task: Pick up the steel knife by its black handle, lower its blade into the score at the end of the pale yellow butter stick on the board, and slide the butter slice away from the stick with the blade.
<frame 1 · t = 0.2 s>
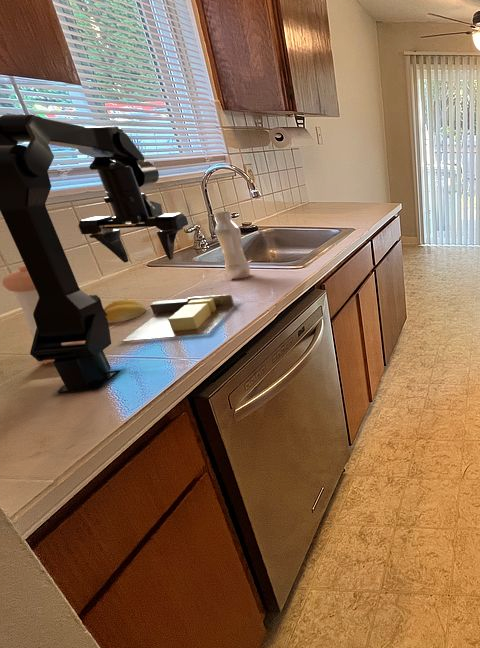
hand: (149, 260, 92), 14 cm above the counter, tool pointing down, fingers open, 9 cm apart
board: (185, 322, 95), on the counter
butter stick: (192, 322, 93), resting on board
plastic bottle: (240, 278, 125), on the counter
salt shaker: (69, 356, 81), on the counter
bread roll: (125, 318, 98), on the counter
knife: (173, 310, 100), point 1 cm above the counter, touching board
butter slice: (204, 311, 99), point 1 cm above the counter, touching board
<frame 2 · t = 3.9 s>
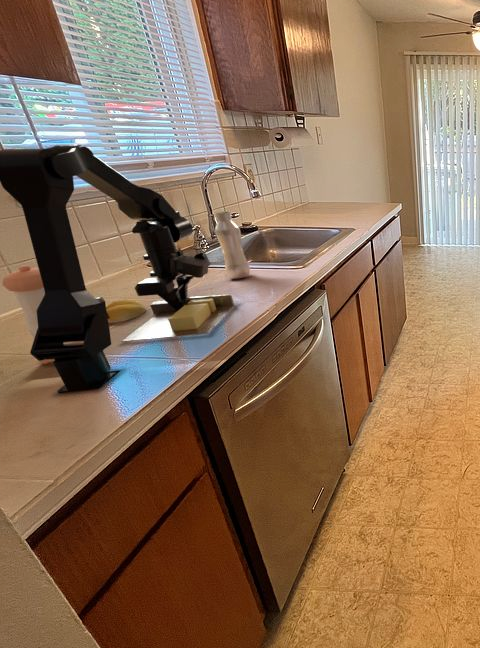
hand: (182, 308, 100), 1 cm above the counter, tool pointing down, fingers closed on knife, 2 cm apart
knife: (173, 310, 100), point 1 cm above the counter, touching board, gripper
everything else where it was.
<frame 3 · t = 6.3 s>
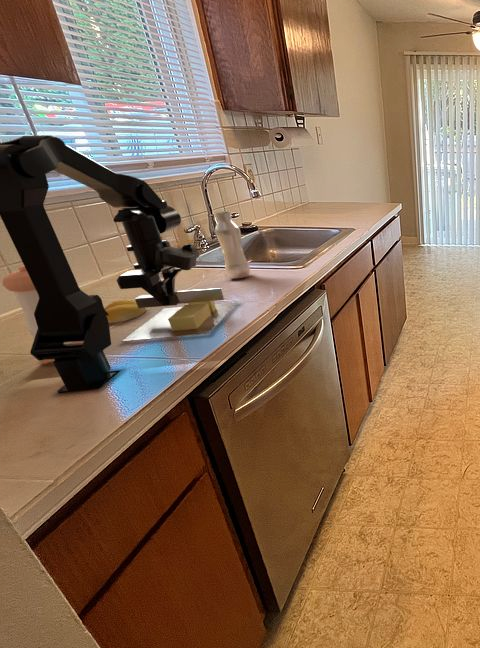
hand: (168, 303, 95), 4 cm above the counter, tool pointing down, fingers closed on knife, 2 cm apart
knife: (159, 304, 95), point 4 cm above the counter, touching gripper
everything else where it was.
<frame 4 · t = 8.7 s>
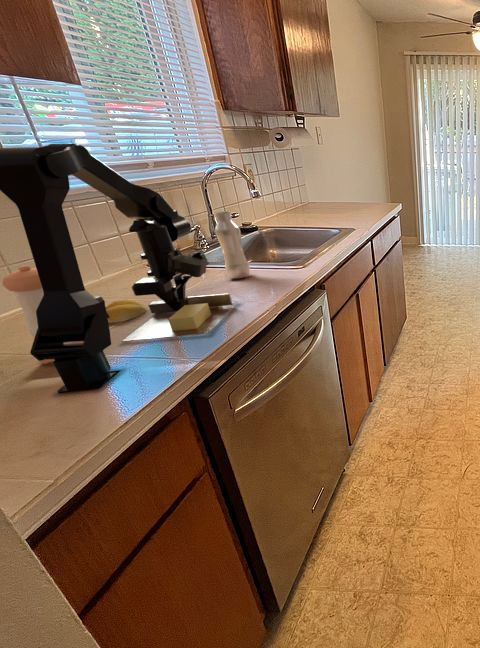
hand: (180, 308, 99), 1 cm above the counter, tool pointing down, fingers closed on knife, 2 cm apart
knife: (171, 310, 99), point 1 cm above the counter, touching gripper
butter slice: (209, 307, 101), point 1 cm above the counter, touching board
everything else where it was.
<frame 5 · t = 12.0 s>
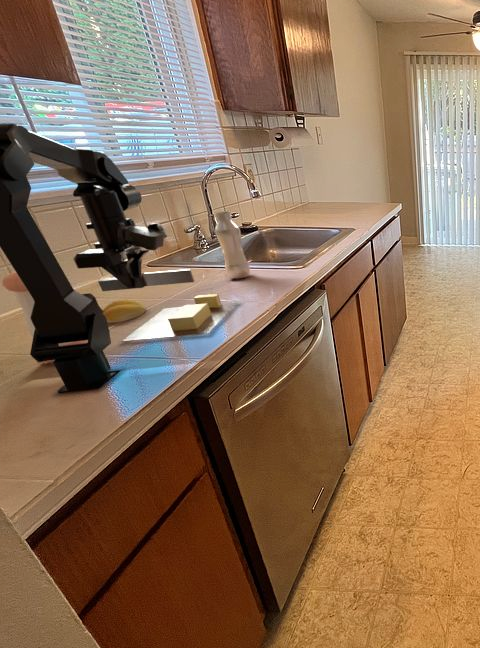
hand: (134, 286, 89), 10 cm above the counter, tool pointing down, fingers closed on knife, 2 cm apart
knife: (125, 287, 89), point 10 cm above the counter, touching gripper
everything else where it was.
at the end: butter slice 0.3 cm from the target spot, point 0.8 cm above the counter; butter slice tilted 0°; the gripper is holding knife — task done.
